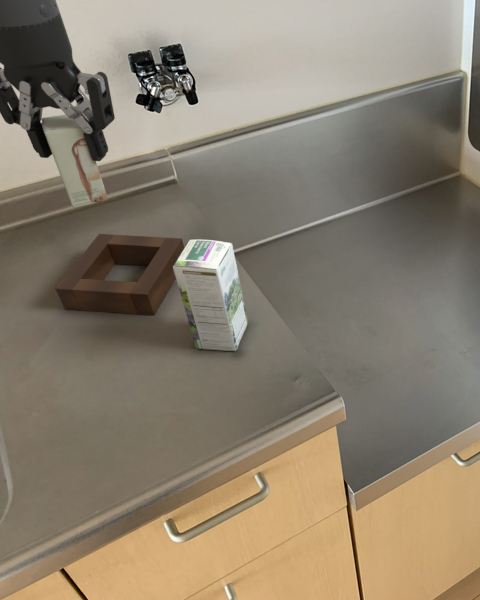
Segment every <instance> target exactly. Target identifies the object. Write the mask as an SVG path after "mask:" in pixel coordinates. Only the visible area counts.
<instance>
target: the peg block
mask: <svg viewBox="0 0 480 600" xmlns="http://www.w3.org/2000/svg"><path fill="white" fill-rule="evenodd" d="M184 244H185V243H184V241H183V238H179V237H163V236H161V237H160V236H146V235H145V236H144V235H130V234H129V235H127V234H110V233H98V234H97V236H96V237H95V238H94V239H93V241H92V242H91V243H90V244H89V246H88V247H87V248H86V250H84V252H83V253H82V254H81V255H80V257H79V258H78V259H77V260H76V262H75V263H74V264H73V266H72V267H71V268H70V269H69V270H68V272H67V273H66V274H65V275H64V277H63V278H62V279H61V280H60V282H58V284H57V286H55V287H54V289H55V292H56V293H57V295H58V298H59V300H60V302H61V304H62V306H63V308H64V310H67V311H68V310H70V311H84V312H85V311H86V312H99V313H100V312H101V313H114V314H127V315H128V314H129V315H130V314H131V315H146V316H155V315H156V313H157V312H158V310H159V309H160V307H161V305H162V303H163V302H164V300H165V298H166V297H167V295H168V293H169V292H170V290H171V288H172V286H173V285H174V283H175V281H176V276H175V273H174V269H173V266H174V264H175V263H176V261H177V260H178V258H179V256H180V255H181V253H182V252H183V250H184V248H185V245H184ZM115 265H122V266H123V265H126V266H142V267H146V268H145V270H144V271H143V273H142V274H141V276H140V277H139V279H138V281H124V280H106V277H107V275H109V273H110V271H111V270H112V269H113V267H114V266H115Z"/></svg>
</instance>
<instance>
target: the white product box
mask: <svg viewBox="0 0 480 600" xmlns="http://www.w3.org/2000/svg"><path fill="white" fill-rule="evenodd" d="M41 123H42V126H43V130H44V133H45V136H46V139H47V141H48V144H49V147H50V149H51V152H52V157H53V160H54V162H55V164H56V167H57V168H56V169H58V173H59V175H60V178H61V181H62V183H63V186H64V188H65V191H66V194H67V196H68V198H69V201H70V204H71V206H72V208H78V207H83V206H89V205H93V204H97V203H101V202H107V201H108V200H109V197H108V194H107V191H106V187H105V185H104V182H103V178H102V175H101V172H100V170H99V167H98V164H97V161H93V160H92V158H91V155H90V152H89V149H88V146H87V144H86V141H85V138H84V135H83V134H84V133H85V132H84V131H83V130H82V129H81V128H80V126H79V125H78V124H77V123H76V122H75V120H74V119H70V118H68V117H67V115H66V114H65V113H64V114H59V115H51V116H46V117H42V119H41Z"/></svg>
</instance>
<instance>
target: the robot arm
mask: <svg viewBox="0 0 480 600" xmlns="http://www.w3.org/2000/svg"><path fill="white" fill-rule="evenodd" d="M57 2H58V1H57V0H0V64H1V65H3V68H2V67H0V115H1V117H2V119H3V120H4V122H5V123H6V124H8V125H14V124H16V125H18V126H20V127H21V128H22V129H23V130H25V131H26V134H27V136H28V139H29V141H30V143H31V146H32V148H33V150H34V151H35V152H36V153H37V154H38V156H39V158H41V159H49V158H50V157H51V156H53V154H52V152H51V149H50V147H49V144H48V141H47V139H46V136H45V133H44V130H43V126H42V118H43V110H44V108H49V107H50V108H53V109H58V110H61V111H62V112H63V113H64V115H65V114H66V115H67V117H68V118H70V119H74V120H75V122H76V123H77V124H78V125H79V126H80V128H81V129H82V130H83V131H84V132H85V133H84V134H83V135H84V138H85V141H86V144H87V146H88V149H89V152H90V155H91V158H92V160H93V161H96V162H101V161H102V160H103V159H104V158H105V157H106V155H107V153H108V152H109V145H108V143H107V140H106V136H105V134H104V131H103V130H105V129H106V128H107V127H108V126H109V125H111V123H113V121H114V120H115V111H114V106H113V101H112V96H111V95H112V94H111V91H110V86H109V85H110V84H109V80H108V79H109V78H108V76H107V74H106V73H105V72H103V71H97V72H96V73H95V74H91V73H86V72H82V71H81V70H80V68H79V67H78V66H77V65H76V63H75V61H74V57H73V47H72V44H71V41H70V38H69V36H68V32H67V29H66V27H65V26H66V25H65V24H64V21H63V18H62V15H61V11H60V8H59V6H58V3H57ZM81 86H82V87H83V89H84V92H83V91H82V89H81V88H80V87H81ZM13 87H14V88H15V89H16V90H17V91H18V92H19V96H18V95H17V93H16V91H15V89H14V88H13ZM86 95H87V96H88V97H87V96H86ZM74 101H75V103H76V105H75V106H74V105H73V104H72V103H73V102H74Z"/></svg>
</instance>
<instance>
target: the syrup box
mask: <svg viewBox="0 0 480 600" xmlns="http://www.w3.org/2000/svg"><path fill="white" fill-rule="evenodd" d="M173 269H174V273H175V276H176V279H175V281H176V282H177V287H178V290H179V293H180V297H181V301H182V304H183V308H184V311H185V314H186V318H187V321H188V325H189V328H190V332H191V335H192V339H193V342H194V345H195V348H196V349H198V350H199V349H200V350H213V351H226V352H227V351H228V352H237V351H238V349H239V346H240V344H241V341H242V339H243V336H244V334H245V332H246V330H247V327H248V324H249V321H248V314H247V310H246V305H245V300H244V296H243V290H242V286H241V281H240V280H241V279H240V276H239V272H238V271H239V270H238V266H237V261H236V256H235V252H234V246H233V243H232V242H226V241H222V240H213V239H189V240H188V242H187V244H186V245H185V246H184V250H183V252H182V253H181V255H180V256H179V258H178V260H177V261H176V263H175V264H174V266H173Z"/></svg>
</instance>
